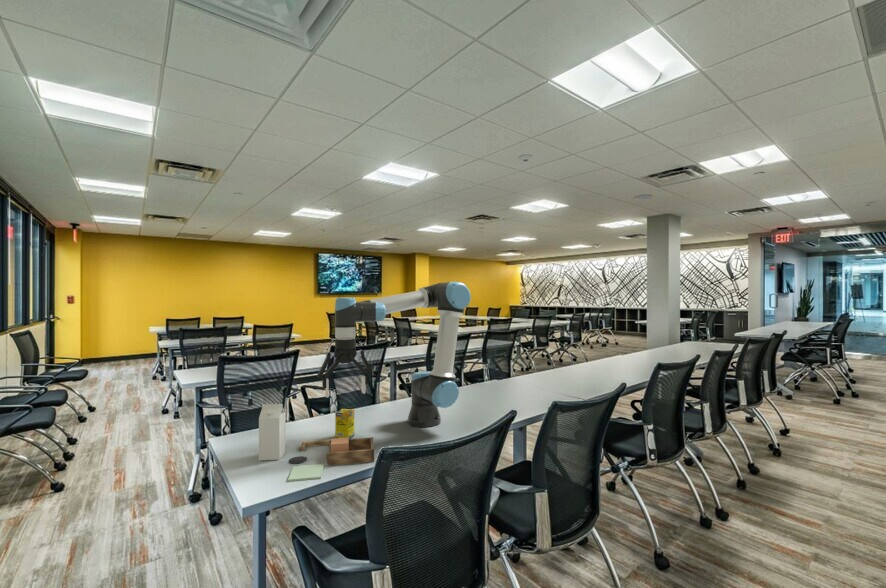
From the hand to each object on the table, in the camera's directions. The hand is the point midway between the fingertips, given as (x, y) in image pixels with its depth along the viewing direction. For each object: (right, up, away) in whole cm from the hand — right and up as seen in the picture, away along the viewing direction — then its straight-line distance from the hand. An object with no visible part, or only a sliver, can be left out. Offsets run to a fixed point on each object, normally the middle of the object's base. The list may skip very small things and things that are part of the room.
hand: (345, 394), depth 152 cm
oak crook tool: (-11, -21, +4) cm, 24 cm away
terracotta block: (-1, -21, -6) cm, 22 cm away
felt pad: (-8, -21, -19) cm, 30 cm away
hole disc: (-15, -21, -9) cm, 27 cm away
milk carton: (-25, -21, -5) cm, 33 cm away
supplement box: (-4, -21, +14) cm, 26 cm away
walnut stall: (+3, -21, -5) cm, 22 cm away
